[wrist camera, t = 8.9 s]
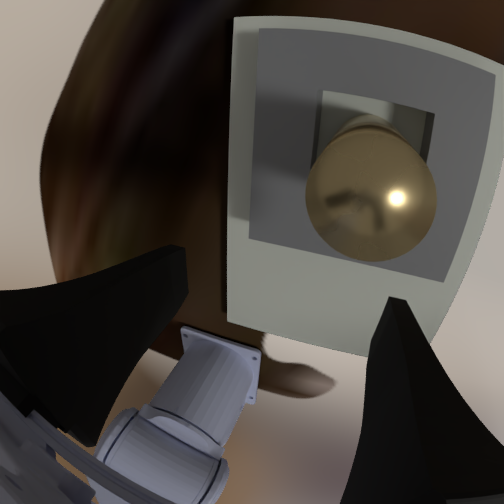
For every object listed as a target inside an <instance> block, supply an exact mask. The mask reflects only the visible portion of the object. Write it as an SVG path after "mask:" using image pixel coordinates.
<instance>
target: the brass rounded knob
mask: <svg viewBox="0 0 504 504" xmlns="http://www.w3.org/2000/svg"><path fill="white" fill-rule="evenodd" d="M305 201H306V208H307V212H308V215H309V218H310V221H311V223H312V225H313V227H314V229H315V230H316V232H317V233H318V234H319V236H320V237H321V238H322V239H323V240H324V241H325V242H326V243H327V244H328V245H329V246H330V247H332V248H333V249H334V250H336V251H337V252H339V253H341V254H343V255H345V256H347V257H350V258H353V259H356V260H361V261H367V262H379V261H386V260H391V259H394V258H397V257H399V256H402V255H404V254H406V253H407V252H409V251H410V250H412V249H413V248H414V247H415V246H417V245H418V244H419V243H420V242H421V241H422V240H423V238H424V237H425V236H426V234H427V233H428V231H429V229H430V227H431V225H432V223H433V220H434V217H435V213H436V208H437V191H436V186H435V182H434V179H433V176H432V174H431V172H430V170H429V168H428V166H427V165H426V163H425V162H424V160H423V159H422V158H421V157H420V155H419V154H418V153H417V152H416V150H415V149H414V148H413V147H412V146H411V145H410V143H409V142H408V141H407V140H406V139H405V138H404V137H403V135H402V134H401V133H400V132H399V131H398V130H397V129H396V128H395V127H394V126H393V125H392V124H391V123H390V122H389V121H387V120H385V119H384V118H381V117H379V116H375V115H369V114H367V115H358V116H355V117H352V118H350V119H349V120H347V121H346V122H344V123H343V124H342V125H341V126H340V128H339V129H338V130H337V132H336V133H335V135H334V136H333V137H332V139H331V140H330V142H329V143H328V144H327V146H326V147H325V149H324V150H323V152H322V153H321V154H320V156H319V157H318V159H317V160H316V162H315V163H314V165H313V167H312V169H311V171H310V173H309V176H308V179H307V183H306V189H305Z"/></svg>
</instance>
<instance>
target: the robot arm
mask: <svg viewBox="0 0 504 504" xmlns="http://www.w3.org/2000/svg"><path fill="white" fill-rule="evenodd" d="M188 293H189V292H188V280H187V268H186V254H185V248H183V247H179V246H175V245H168V246H164V247H161V248H158V249H156V250H153V251H150V252H148V253H145V254H143V255H140V256H138V257H135V258H133V259H130V260H128V261H125V262H123V263H120V264H118V265H115V266H112V267H110V268H107V269H104V270H102V271H99V272H96V273H93V274H90V275H87V276H84V277H81V278H77V279H73V280H70V281H66V282H61V283H57V284H52V285H47V286H42V287H37V288H29V289H20V290H1V291H0V504H95V503H93V502H92V501H91V500H92V498H93V497H94V496H96V499H97V501H98V502H99V504H215V503H216V501H217V500H218V498H219V496H220V495H221V493H222V491H223V489H224V487H225V485H226V482H227V479H228V476H229V467H228V463H227V460H226V459H224V458H221V457H222V455H223V453H224V451H225V448H223V446H224V444H225V443H226V442H227V440H228V438H229V436H230V434H231V432H232V430H233V428H234V426H235V424H236V422H237V420H238V418H239V415H240V413H241V411H242V409H243V407H244V405H245V403H248V404H255V402H256V396H257V388H258V379H259V370H260V361H261V352H260V350H258V349H256V348H252V347H249V346H245V345H242V344H239V343H236V342H232V341H229V340H226V339H223V338H220V337H217V336H214V335H211V334H208V333H205V332H202V331H199V330H196V329H193V328H190V327H187V326H183V327H182V328H181V336H182V342H183V348H184V354H183V356H182V357H181V359H180V360H179V362H178V363H177V365H176V366H175V367H174V369H173V370H172V372H171V373H170V375H169V376H168V377H167V379H166V380H165V382H164V383H163V384H162V386H161V387H160V389H159V390H158V392H157V393H156V394H155V396H154V397H153V399H152V400H151V402H150V403H149V404H144V405H143V407H142V409H141V410H140V411H139V410H137V409H136V408H134V407H132V408H130V409H125V410H122V412H120V413H119V414H118V415H117V416H116V417H115V418H114V420H113V421H112V422H111V424H110V425H109V426H108V427H107V429H106V430H105V432H104V433H103V435H102V437H101V438H100V440H99V442H98V444H97V441H98V438H99V436H100V433H101V431H102V428H103V426H104V424H105V421H106V419H107V417H108V414H109V413H110V411H111V408H112V406H113V404H114V402H115V400H116V398H117V397H118V395H119V393H120V391H121V389H122V388H123V386H124V383H125V382H126V380H127V379H128V377H129V376H130V374H131V372H132V371H133V369H134V367H135V366H136V364H137V363H138V361H139V360H140V358H141V357H142V356H143V354H144V353H145V352H146V351H147V349H148V348H149V347H150V346H151V344H152V343H153V342H154V341H155V340H156V338H157V337H158V336H159V335H160V333H161V332H162V331H163V330H164V328H165V327H166V326H167V325H168V323H169V322H170V321H171V320H172V318H173V317H174V316H175V315H176V313H177V312H178V310H179V308H180V307H181V305H182V303H183V302H184V300H185V298H186V296H187V295H188ZM57 428H59V429H61V430H62V431H63V432H64V433H68V434H69V435H71V436H72V437H73V438H75V439H76V440H77V441H79V442H80V443H81V444H83V445H84V446H86V447H93V446H96V444H97V446H96V449H95V453H94V455H93V456H92V455H90V454H89V453H87V452H86V451H85V450H83V449H82V448H81V447H79V446H78V445H76V444H75V443H74V442H73V441H71V440H70V439H68V438H67V437H66V436H65V435H63V434H62V433H61V432H60V431H58V430H57ZM55 452H57V453H58V454H59V455H60V456H62V457H63V458H64V459H65V460H67V461H68V462H69V463H70V464H72V465H73V466H74V467H75V468H77V469H78V470H79V471H81V472H82V473H84V474H85V475H86V477H87V480H88V482H89V484H90V486H91V487H90V486H88V485H87V484H86V483H84V482H83V481H81V480H80V479H79V478H77V477H76V476H75V475H74V474H72V473H71V472H70V471H68V470H67V469H66V468H64V467H63V466H62V465H61V464H59V463H58V462H57V460H56V453H55ZM340 504H504V446H503V445H502V444H501V443H500V442H499V441H498V440H497V439H496V438H495V437H494V436H493V434H491V432H490V431H489V430H488V429H487V428H486V427H485V425H484V424H483V423H482V422H481V421H480V420H479V418H478V417H477V416H476V414H475V413H474V412H473V411H472V409H471V408H470V407H469V406H468V404H467V403H466V402H465V400H464V399H463V398H462V396H461V395H460V393H459V392H458V390H457V389H456V387H455V386H454V384H453V383H452V381H451V380H450V378H449V377H448V375H447V374H446V372H445V370H444V369H443V367H442V365H441V364H440V362H439V360H438V359H437V357H436V355H435V353H434V352H433V350H432V348H431V346H430V344H429V342H428V341H427V339H426V337H425V335H424V333H423V331H422V329H421V327H420V325H419V324H418V322H417V320H416V318H415V316H414V314H413V312H412V310H411V308H410V306H409V304H408V303H407V301H406V300H404V299H399V298H395V297H391V296H389V297H388V300H387V303H386V305H385V308H384V310H383V313H382V315H381V318H380V320H379V322H378V325H377V327H376V330H375V332H374V334H373V337H372V339H371V342H370V348H369V354H368V361H367V368H366V384H365V397H364V409H363V420H362V427H361V434H360V438H359V443H358V447H357V451H356V455H355V458H354V462H353V466H352V469H351V472H350V476H349V479H348V482H347V485H346V488H345V491H344V493H343V496H342V499H341V502H340Z"/></svg>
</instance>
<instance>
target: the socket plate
mask: <svg viewBox="0 0 504 504" xmlns="http://www.w3.org/2000/svg"><path fill="white" fill-rule="evenodd" d="M367 114H369V115H375V116H379V117H381V118H384V119H385V120H387V121H389V122H390V123H391V124H392V125H393V126H394V127H395V128H396V129H397V130H398V131H399V132H400V133H401V134H402V135H403V137H404V138H405V139H406V140H407V141H408V142H409V143H410V145H411V146H412V147H413V148H414V149H415V150H416V152H417V153H418V154H419V155H420V157H421V158H422V159H423V160H424V162H425V163H426V165H427V166H428V168H429V170H430V172H431V174H432V176H433V179H434V182H435V186H436V191H437V208H436V213H435V217H434V220H433V223H432V225H431V227H430V229H429V231H428V233H427V234H426V236H425V237H424V238H423V240H422V241H421V242H420V243H419V244H418V245H417V246H415V247H414V248H413V249H412V250H410V251H409V252H407V253H406V254H404V255H402V256H399V257H397V258H394V259H391V260H386V261H379V262H367V261H361V260H356V259H353V258H350V257H347V256H345V255H343V254H341V253H339V252H337V251H336V250H334V249H333V248H332V247H330V246H329V245H328V244H327V243H326V242H325V241H324V240H323V239H322V238H321V237H320V236H319V234H318V233H317V232H316V230H315V229H314V227H313V225H312V223H311V221H310V218H309V215H308V212H307V208H306V201H305V189H306V183H307V179H308V176H309V173H310V171H311V169H312V167H313V165H314V163H315V162H316V160H317V159H318V157H319V156H320V154H321V153H322V152H323V150H324V149H325V147H326V146H327V144H328V143H329V142H330V140H331V139H332V137H333V136H334V135H335V133H336V132H337V130H338V129H339V128H340V126H341V125H342V124H343V123H344V122H346V121H347V120H349V119H350V118H352V117H355V116H358V115H367ZM503 156H504V66H503V65H501V64H499V63H497V62H494V61H492V60H490V59H488V58H485V57H483V56H480V55H478V54H475V53H473V52H470V51H467V50H465V49H462V48H459V47H456V46H453V45H451V44H447V43H444V42H441V41H438V40H435V39H431V38H428V37H424V36H421V35H417V34H413V33H409V32H405V31H401V30H396V29H392V28H387V27H382V26H376V25H371V24H365V23H358V22H351V21H344V20H335V19H325V18H312V17H293V16H251V17H234V30H233V49H232V71H231V95H230V124H229V161H228V217H227V321H228V322H232V323H235V324H238V325H242V326H245V327H249V328H252V329H256V330H259V331H263V332H266V333H270V334H274V335H277V336H282V337H285V338H289V339H292V340H296V341H300V342H304V343H308V344H312V345H316V346H321V347H325V348H329V349H333V350H337V351H342V352H346V353H351V354H355V355H360V356H365V357H368V354H369V348H370V342H371V339H372V337H373V334H374V332H375V330H376V327H377V325H378V322H379V320H380V318H381V315H382V313H383V310H384V308H385V305H386V303H387V300H388V297H389V296H391V297H395V298H399V299H404V300H406V301H407V303H408V304H409V306H410V308H411V310H412V312H413V314H414V316H415V318H416V320H417V322H418V324H419V325H420V327H421V329H422V331H423V333H424V335H425V337H426V339H427V341H428V342H429V344H430V343H431V341H432V339H433V338H434V336H435V334H436V332H437V331H438V329H439V327H440V325H441V323H442V321H443V319H444V318H445V316H446V314H447V312H448V310H449V307H450V306H451V304H452V302H453V300H454V298H455V296H456V294H457V291H458V289H459V287H460V285H461V283H462V281H463V278H464V276H465V274H466V272H467V269H468V267H469V264H470V262H471V259H472V257H473V254H474V252H475V249H476V247H477V244H478V241H479V239H480V236H481V234H482V231H483V228H484V225H485V222H486V219H487V216H488V213H489V210H490V206H491V203H492V200H493V196H494V193H495V189H496V186H497V182H498V178H499V174H500V170H501V165H502V161H503Z"/></svg>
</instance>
